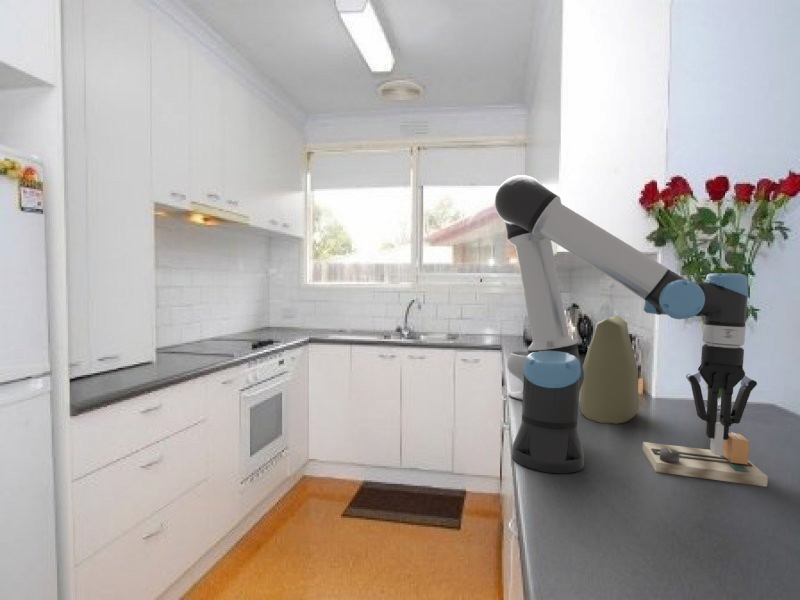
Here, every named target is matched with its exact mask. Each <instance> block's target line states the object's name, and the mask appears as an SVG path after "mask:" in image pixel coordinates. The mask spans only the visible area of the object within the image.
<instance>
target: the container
mask: <svg viewBox="0 0 800 600" xmlns="http://www.w3.org/2000/svg"><path fill="white" fill-rule="evenodd" d="M582 365H583V369H584V381H583V384H582V386H581V388H580V391H579V400H578V404H579V406H580V407H579V408H580V409H581V410H580V411H581V414H582V415H583V416H584V417H585V418H586V419H587V418H588V420H590V419H591V421H593V420H594V421H593V422H596V423H599V422H600V424H611V423H614V424H615V425H616V424H617V425H618V424H619V423H620V424H623V423H626V422H628V421H630V420H632V418H635V416H636V414H637V413H638V411H639V369H638V364H637V362H636V357H635V352H634V349H633V344H632V339H631V337H630V333H629V328H628V322H627V321H625V320H624V319H623V318H622V317H621V316H619V315H618V314H616V315H614V316H611V317H607V318H604V319H603V320H601V321H599V322H597V323H596V325H595V329H594V333H593V337H592V338H591V341H590V343H589V346H588V349H587V352H586V355H585V357H584V362H583V364H582Z"/></svg>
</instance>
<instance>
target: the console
mask: <svg viewBox="0 0 800 600" xmlns="http://www.w3.org/2000/svg"><path fill="white" fill-rule="evenodd" d="M642 451H643V453H644V455H645V456H646V458H647V460H648V461H649V463H650V465H651V466H652V468H653V470H654V472H655V473H661V474H669V475H678V476H684V477H691V478H698V479H700V478H701V479H707V480H714V481H721V482H730V483H737V484H744V485H752V486H758V487H759V486H760V487H766V488H767V487H768V478H769V476H768V475H766V474H765V473H764V472H763V471H761V470H760V469H759V468H758V467H757V466H755V464H754V463H752V462H751V461H750V460H748V464H740V463H732V462H730V461H729V460H728V459H727V458H726V457H725V456H724V455H723V454H722V456H719V455H714V454H713V453H712V452H711V451H710V449H706V448H698V447H689V446H681V445H671V444H663V443H655V442H647V441H643V442H642ZM722 453H723V450H722Z"/></svg>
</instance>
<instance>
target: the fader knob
mask: <svg viewBox="0 0 800 600" xmlns="http://www.w3.org/2000/svg"><path fill="white" fill-rule="evenodd" d="M749 444H750V440H749V439H747V438H746V437H745V436H743V435H742V434H740V433H735V432H733V431H731V432H729V435H728V439H727V440H723V450H722V451H723V453H722V454H723V455H724V456H725V457H726V458H727V459H728V460H729V461H730V462H732V463H740V464H748V461H749V446H750V445H749Z"/></svg>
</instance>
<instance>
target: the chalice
mask: <svg viewBox="0 0 800 600" xmlns="http://www.w3.org/2000/svg"><path fill="white" fill-rule="evenodd" d="M528 355H529V353H528V350H527V351H522V350H521V351H519V350H518V351H517V350H516V351H512V352H511V353H510V354H509V356H508V359H507V364H506V365H507V367H506V368H507V369H508V371H509V372H510V373H511V374H512V376H514V377H516V378H517V379H519V380H520V381H521V382H522V383H524V372H523V367H524V364H525V359H526V357H527V356H528ZM508 396H509V397H511V398H513V399H516V400H521V401H523V390H522V391H511V392H510V393H508Z"/></svg>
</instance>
